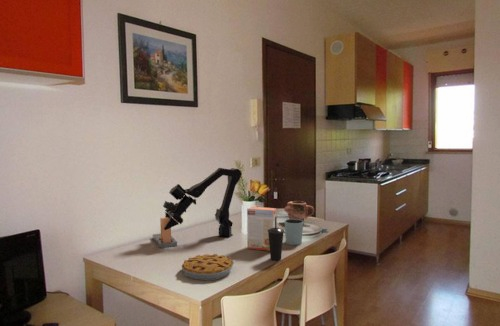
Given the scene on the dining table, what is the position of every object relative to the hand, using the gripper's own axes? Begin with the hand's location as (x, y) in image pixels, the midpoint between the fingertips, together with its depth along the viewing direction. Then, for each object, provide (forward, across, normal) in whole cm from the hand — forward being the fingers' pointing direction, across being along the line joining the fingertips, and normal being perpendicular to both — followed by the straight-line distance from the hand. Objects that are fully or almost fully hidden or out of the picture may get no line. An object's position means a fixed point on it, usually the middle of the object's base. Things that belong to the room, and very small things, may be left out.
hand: (163, 227), depth 194 cm
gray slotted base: (+5, -4, +7) cm, 10 cm away
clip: (+5, 0, +7) cm, 8 cm away
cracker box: (-24, +30, +37) cm, 54 cm away
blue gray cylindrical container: (-38, +28, +52) cm, 70 cm away
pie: (0, +47, +13) cm, 49 cm away
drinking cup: (-23, +47, +36) cm, 64 cm away
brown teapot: (-57, -8, +70) cm, 91 cm away
